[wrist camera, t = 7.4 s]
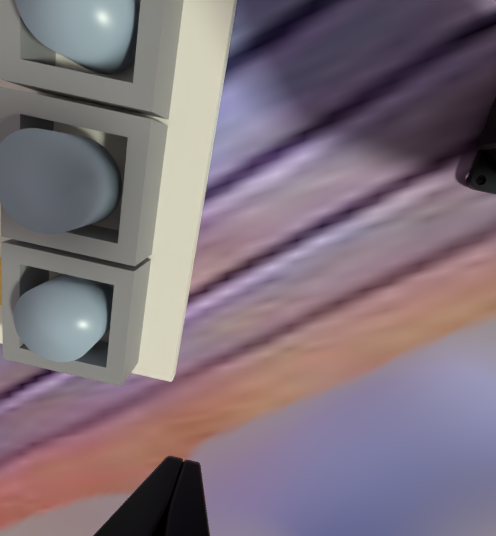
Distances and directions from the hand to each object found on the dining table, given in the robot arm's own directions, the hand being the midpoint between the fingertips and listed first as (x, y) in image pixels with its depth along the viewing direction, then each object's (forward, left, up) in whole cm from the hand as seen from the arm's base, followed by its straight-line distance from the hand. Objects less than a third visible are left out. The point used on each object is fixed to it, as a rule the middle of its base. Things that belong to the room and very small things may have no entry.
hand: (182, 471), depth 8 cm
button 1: (+9, -12, -12) cm, 19 cm away
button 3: (+9, +2, -12) cm, 15 cm away
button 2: (+9, -5, -10) cm, 15 cm away
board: (+10, -5, -13) cm, 17 cm away
